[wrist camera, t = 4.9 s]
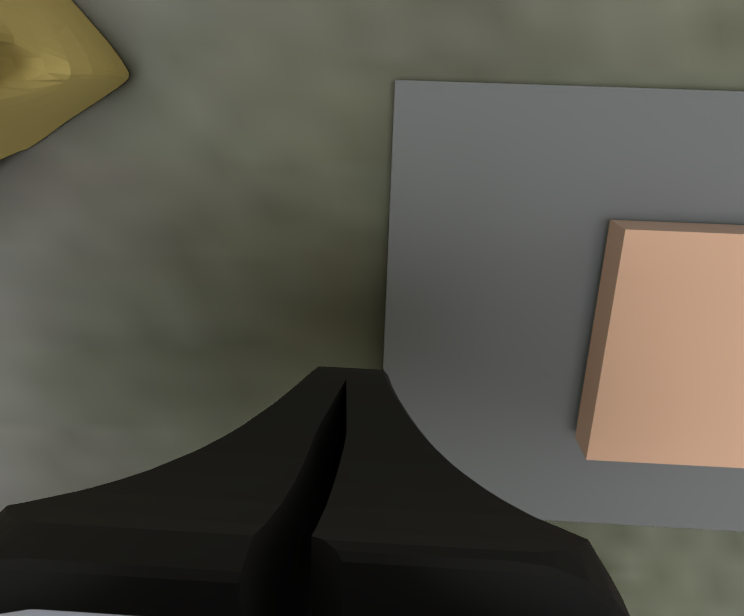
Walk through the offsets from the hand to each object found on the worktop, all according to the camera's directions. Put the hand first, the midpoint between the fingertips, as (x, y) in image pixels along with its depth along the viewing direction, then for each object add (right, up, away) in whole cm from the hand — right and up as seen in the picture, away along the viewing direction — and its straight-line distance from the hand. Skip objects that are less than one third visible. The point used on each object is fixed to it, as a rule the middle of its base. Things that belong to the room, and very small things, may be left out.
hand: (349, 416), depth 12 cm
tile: (+6, +1, +4) cm, 7 cm away
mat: (+7, +2, +5) cm, 9 cm away
